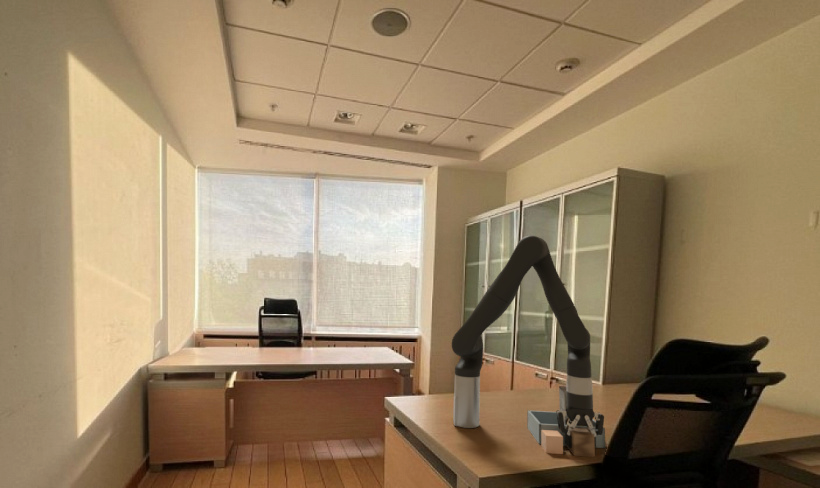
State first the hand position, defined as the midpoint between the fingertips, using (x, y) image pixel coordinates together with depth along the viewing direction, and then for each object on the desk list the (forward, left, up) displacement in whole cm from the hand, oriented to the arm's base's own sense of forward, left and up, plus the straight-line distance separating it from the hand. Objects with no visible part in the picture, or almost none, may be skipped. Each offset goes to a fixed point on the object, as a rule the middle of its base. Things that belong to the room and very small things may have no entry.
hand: (580, 447), depth 115 cm
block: (0, 0, -1) cm, 1 cm away
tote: (-1, +12, -1) cm, 12 cm away
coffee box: (+3, +12, -1) cm, 12 cm away
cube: (-9, 0, -1) cm, 9 cm away
